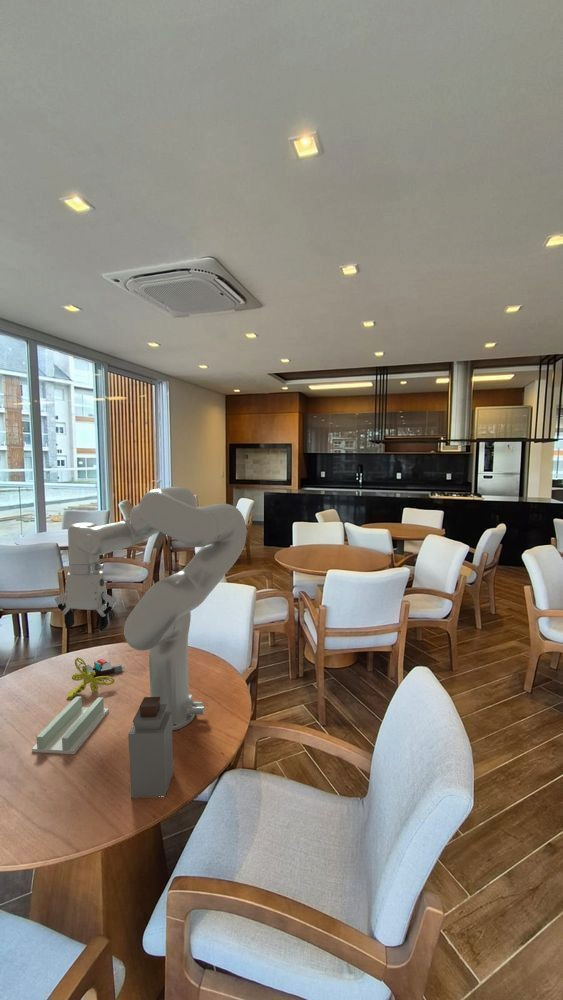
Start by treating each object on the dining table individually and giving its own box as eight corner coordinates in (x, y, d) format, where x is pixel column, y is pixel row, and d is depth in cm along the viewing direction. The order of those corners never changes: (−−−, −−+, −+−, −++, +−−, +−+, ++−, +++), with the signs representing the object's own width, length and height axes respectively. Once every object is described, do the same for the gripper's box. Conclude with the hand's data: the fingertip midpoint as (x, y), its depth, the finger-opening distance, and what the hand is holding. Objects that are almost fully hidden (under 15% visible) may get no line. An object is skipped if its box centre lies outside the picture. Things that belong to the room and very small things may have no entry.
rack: (108, 711, 110) (108, 697, 109) (74, 754, 94) (73, 738, 93) (72, 709, 110) (71, 696, 110) (32, 751, 95) (31, 736, 94)
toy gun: (126, 673, 130) (125, 658, 129) (83, 683, 124) (82, 667, 123) (122, 660, 138) (121, 646, 138) (82, 668, 133) (81, 654, 132)
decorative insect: (92, 706, 120) (116, 678, 121) (91, 713, 117) (115, 684, 118) (53, 684, 117) (78, 655, 118) (50, 690, 113) (76, 660, 115)
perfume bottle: (173, 771, 89) (170, 691, 87) (165, 797, 82) (162, 711, 80) (141, 772, 89) (138, 692, 87) (130, 798, 82) (127, 712, 80)
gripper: (121, 565, 117) (122, 623, 119) (62, 563, 118) (64, 620, 120) (108, 573, 110) (109, 635, 112) (45, 570, 111) (48, 631, 113)
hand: (86, 627), depth 116 cm, fingers open, 9 cm apart
